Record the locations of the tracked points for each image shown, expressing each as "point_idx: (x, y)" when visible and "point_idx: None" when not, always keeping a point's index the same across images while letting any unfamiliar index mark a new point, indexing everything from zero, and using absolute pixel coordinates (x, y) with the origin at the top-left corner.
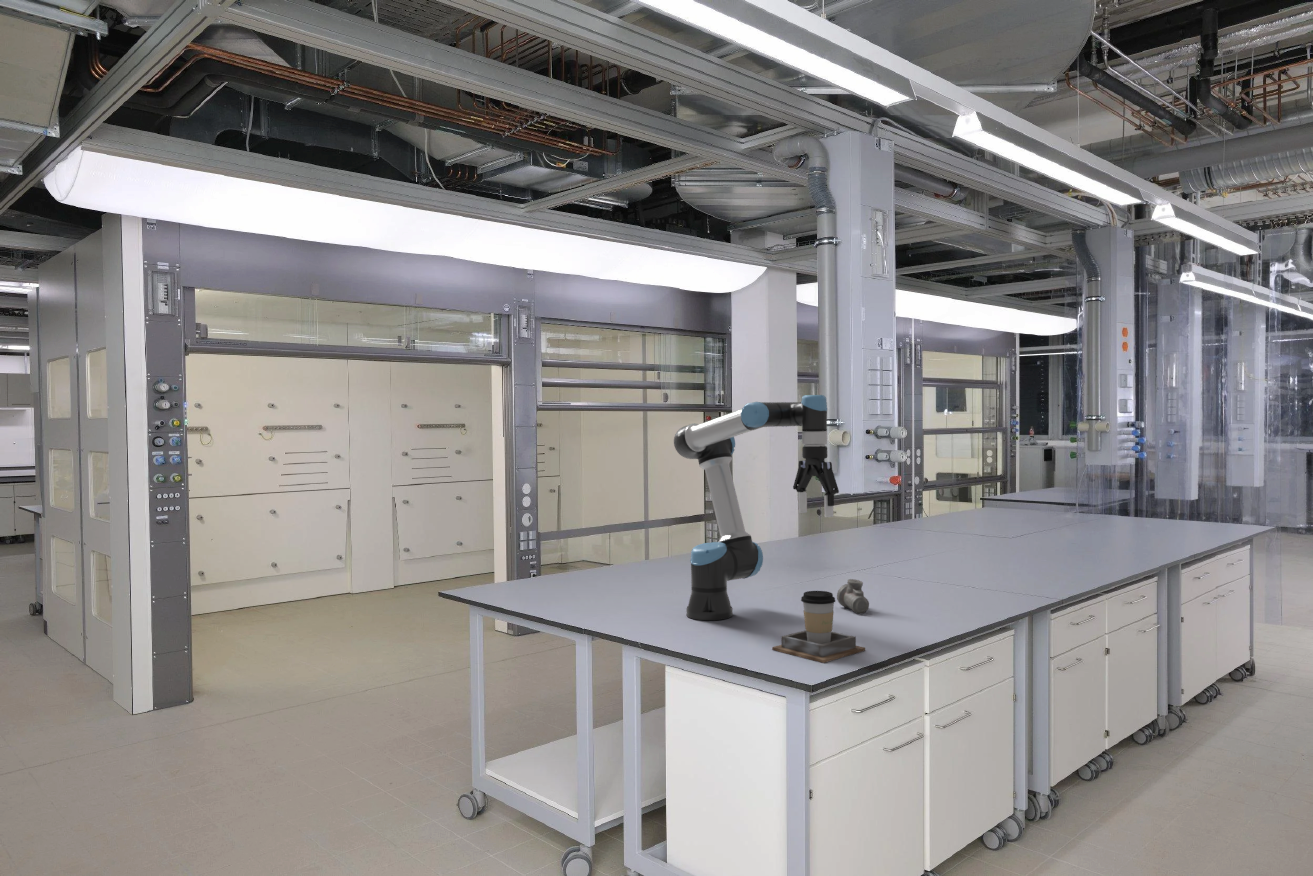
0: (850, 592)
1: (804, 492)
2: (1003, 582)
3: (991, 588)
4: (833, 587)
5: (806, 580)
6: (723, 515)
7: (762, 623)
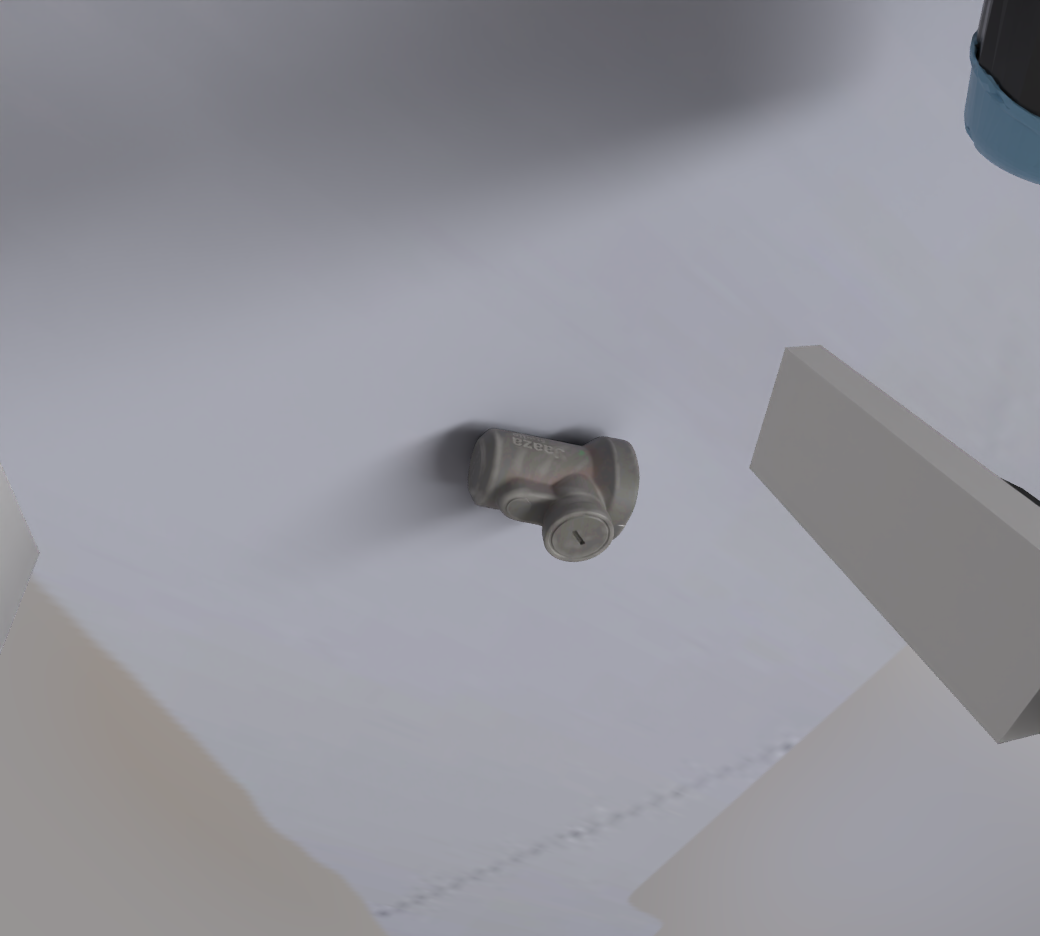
0: (562, 483)
1: (1019, 696)
2: (573, 891)
3: (538, 858)
4: None
5: None
6: None
7: None
